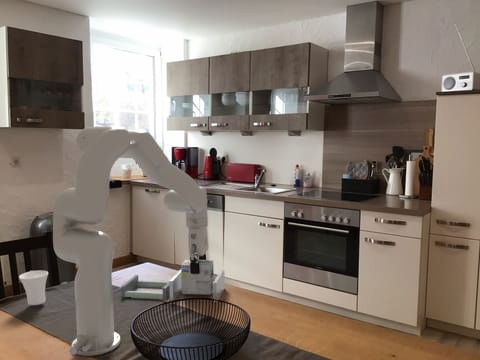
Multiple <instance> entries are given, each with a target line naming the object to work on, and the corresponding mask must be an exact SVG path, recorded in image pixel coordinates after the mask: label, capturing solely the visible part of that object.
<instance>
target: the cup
mask: <svg viewBox="0 0 480 360" xmlns="http://www.w3.org/2000/svg"><path fill="white" fill-rule="evenodd" d="M48 275H49V272H48V271H47V270H30V271H27V272H24V273H22V274H20V275H18V278H19V280H20V282H21V283H22V285H23V288H24V290H25V295H26V298H27V300H26V301H27V305H29V306H38V305H42V304H44V303H45V302H46V301H47V299H46V284H47V278H48Z"/></svg>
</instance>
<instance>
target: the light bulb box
mask: <svg viewBox="0 0 480 360" xmlns="http://www.w3.org/2000/svg"><path fill="white" fill-rule="evenodd" d="M198 262H199V265H200V273H199V274H191V273H190V259H184V261H183V262H182V263H181V264H180V269H181V279H182V291H181V295H213V282H214V280H215V274H214V270H215V269H214V259H206V260H199V261H198Z"/></svg>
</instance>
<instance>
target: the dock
mask: <svg viewBox="0 0 480 360" xmlns="http://www.w3.org/2000/svg"><path fill="white" fill-rule="evenodd" d="M120 287H121V288H120V289H121V291H120V292H121V298H125V297H131V299H148V300H149V299H150V300H167V299H168V298H170V285H169V281H164V280H163V281H161V280H140V279H139V275H138V274H135V275H133V276H132V277H131V278H130V279H128V280H127V281H126V282H125V283H123V284H122V285H121V286H120ZM137 287H139V288H141V287H142V288H143V287H144V288H162V292H161V291H140V290H139V291H135V289H136V288H137Z"/></svg>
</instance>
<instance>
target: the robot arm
mask: <svg viewBox="0 0 480 360" xmlns="http://www.w3.org/2000/svg"><path fill="white" fill-rule="evenodd" d="M75 139H76V140H75V141H76V142H75V143H76V147H77V150H78V151H79V152H80V153H81V154H82V155H81V156H80V158H79V160H78V162H77V165H76V170H75V171H76V172H75V183H74V185H75V186H74V187H69V188H66V189H63V190H62V191H61V192H59V194H58V195H57V196H56V198H55V201H54V203H53V207H52V209H53V210H52V211H53V212H52V243H53V250H54V253H55V255H56V256H57V257H58V258H59V259H61V260H63V261H65V262H68V263H73V264H76V265H78V268H77V272H76V274H75V278H74V284H73V285H74V287H73V288H74V299H75V302H74V303H75V316H76V317H75V318H76V319H75V320H76V338H75V339H74V340H73V341H72V343H71V346H70V347H71V348H70V349H69V353H70V354H71V355H73V356H74V355H79V356H83V357H84V356H86V357H88V356H89V357H91V356H93V357H94V356H99V355H103V354H106V353H109V352H111V351H113V350H115V349H116V348H118V346H119V345H120V343H121V336H120V334H119V333H117V332H116V331H115V323H114V322H115V319H114V318H115V317H114V298H113V277H112V276H113V275H112V273H113V270H112V269H113V260H114V256H115V244H114V241H113V239H112V238H111V236H110V235H109V234H107V233H106V232H104V231H100V230H97V229H96V230H95V229H92V228H91V229H90V228H86V227H85V226H86V225H87V226H99V225H101V224H103V223H104V222H106V220H107V219H108V217H109V213H110V176H111V171H112V168H113V167H114V164H115V163H116V162H117V161H118V159H132V160H133V161H134V162H135V163H136V164H137V166H138V167H139V168H140V169H141V171H142V172H143V173H144V175H145V176H146V178H147V179H148V180H149V181H150V182H152V183H154V184H156V185H158V186H160V187H162V188H163V187H164V188H166V189H169V190H168V191H167V192H166V193H165V195H164V197H163V204H164V206H165V208H166V209H167V210H169V211H172V212H178V213H185V225H186V228H188V233H187V234H188V235H187V236H188V239H187V240H188V241H187V242H188V243H187V244H188V254H189V260H190V273H191V274H199V273H200V265H199V262H198V261H199V260H207V251H208V250H209V237H208V236H209V235H208V228H207V227H209V225H208V224H209V222H208V202H207V201H208V199H207V198H208V196H207V189H206V187H203V186H199V184H198V183H197V182H196V181H195V179H193V177H191V176H190V175H189V174H188V173H186V172H184V171H183V170H182V169H180V167H178V166H176V165H174V164H173V163H172V162H171V161H170V160H169V158H168V157H167V155H166V154H165V153H164V151H163V149H162V148H161V147H160V146H159V144H158V142H157V141H156V139H155V138H154V136H153V135H152V134H151V133H150V132H149V131H147V130H143V129H126V128H125V127H123V126H117V125H103V126H87V127H85V128H83V129H82V130H80V131H79V132H78V134H77V135H76V138H75Z"/></svg>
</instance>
